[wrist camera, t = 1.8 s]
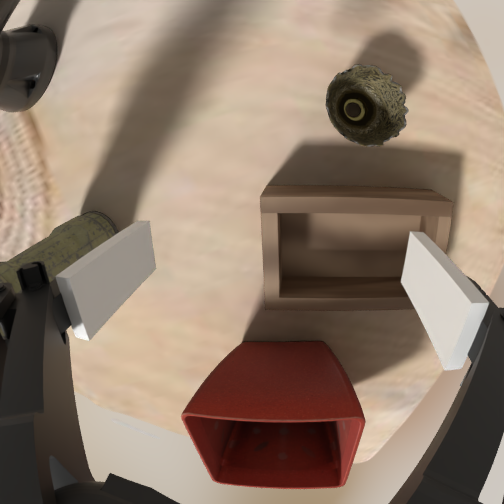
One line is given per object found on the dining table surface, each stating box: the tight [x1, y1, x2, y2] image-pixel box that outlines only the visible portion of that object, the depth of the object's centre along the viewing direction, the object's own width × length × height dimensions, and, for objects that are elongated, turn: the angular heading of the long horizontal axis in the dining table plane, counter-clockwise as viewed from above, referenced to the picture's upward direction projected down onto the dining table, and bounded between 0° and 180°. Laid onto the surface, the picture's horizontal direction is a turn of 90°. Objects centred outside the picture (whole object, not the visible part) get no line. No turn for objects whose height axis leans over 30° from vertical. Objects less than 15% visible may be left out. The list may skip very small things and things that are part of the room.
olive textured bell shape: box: [326, 64, 408, 147], centre depth 26 cm, size 8×7×8 cm
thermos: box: [0, 211, 118, 338], centre depth 25 cm, size 9×12×35 cm
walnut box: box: [260, 185, 453, 311], centre depth 32 cm, size 13×20×6 cm, turn 94°
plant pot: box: [181, 341, 365, 489], centre depth 37 cm, size 19×19×17 cm
